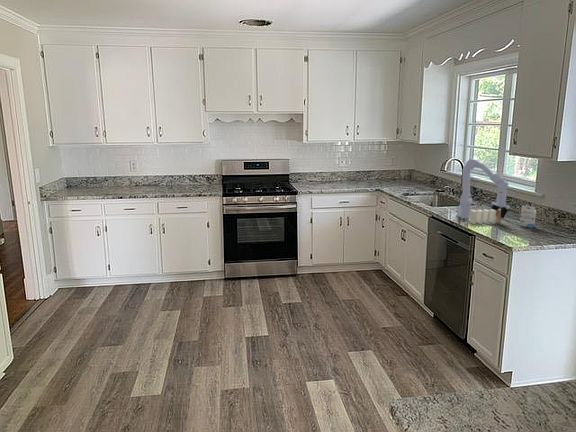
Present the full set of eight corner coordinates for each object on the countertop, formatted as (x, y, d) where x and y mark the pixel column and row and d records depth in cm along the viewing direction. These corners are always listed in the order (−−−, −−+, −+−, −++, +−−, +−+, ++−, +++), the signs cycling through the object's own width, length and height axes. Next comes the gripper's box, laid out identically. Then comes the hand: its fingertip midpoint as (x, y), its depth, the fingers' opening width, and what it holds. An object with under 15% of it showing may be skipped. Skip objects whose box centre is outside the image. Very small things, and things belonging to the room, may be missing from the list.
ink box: (534, 227, 290) (537, 206, 287) (532, 228, 287) (535, 207, 283) (520, 224, 296) (523, 204, 293) (518, 226, 292) (521, 205, 289)
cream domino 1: (469, 222, 300) (470, 209, 298) (471, 222, 300) (472, 209, 298) (473, 224, 295) (474, 211, 293) (475, 224, 295) (477, 211, 293)
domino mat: (463, 221, 305) (463, 220, 305) (499, 219, 310) (499, 219, 310) (473, 225, 293) (473, 224, 293) (510, 223, 298) (510, 223, 298)
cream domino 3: (482, 221, 301) (483, 209, 299) (484, 221, 302) (485, 209, 300) (486, 223, 297) (488, 211, 294) (488, 223, 297) (490, 211, 295)
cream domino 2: (475, 222, 301) (477, 209, 298) (477, 222, 301) (479, 209, 299) (480, 223, 296) (481, 211, 294) (482, 223, 296) (483, 211, 294)
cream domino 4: (488, 221, 302) (490, 209, 300) (490, 221, 302) (492, 209, 300) (493, 223, 297) (494, 210, 295) (495, 223, 298) (496, 210, 296)
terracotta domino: (495, 221, 303) (497, 209, 301) (498, 221, 303) (499, 209, 301) (498, 223, 298) (499, 210, 296) (500, 223, 298) (502, 210, 296)
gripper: (488, 196, 302) (486, 215, 305) (505, 200, 289) (502, 219, 292) (496, 195, 304) (494, 214, 307) (513, 199, 291) (510, 218, 294)
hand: (498, 216), depth 300 cm, fingers open, 6 cm apart
